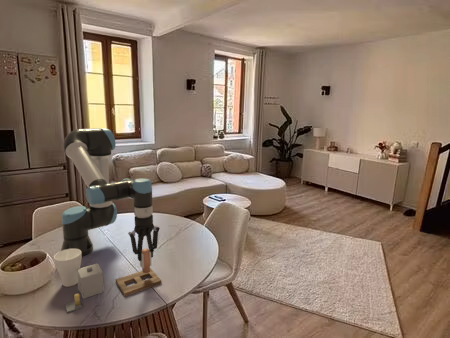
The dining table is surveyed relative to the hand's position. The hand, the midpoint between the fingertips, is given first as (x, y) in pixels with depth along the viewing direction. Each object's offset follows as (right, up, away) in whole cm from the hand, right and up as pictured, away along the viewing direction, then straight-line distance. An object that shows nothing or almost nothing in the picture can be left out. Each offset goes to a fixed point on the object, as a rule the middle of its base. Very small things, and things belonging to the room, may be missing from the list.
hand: (145, 265), depth 128 cm
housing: (-21, -8, -6) cm, 24 cm away
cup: (-32, -7, -1) cm, 33 cm away
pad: (-23, -10, -17) cm, 30 cm away
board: (-3, -7, 0) cm, 8 cm away
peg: (0, -3, +1) cm, 3 cm away
